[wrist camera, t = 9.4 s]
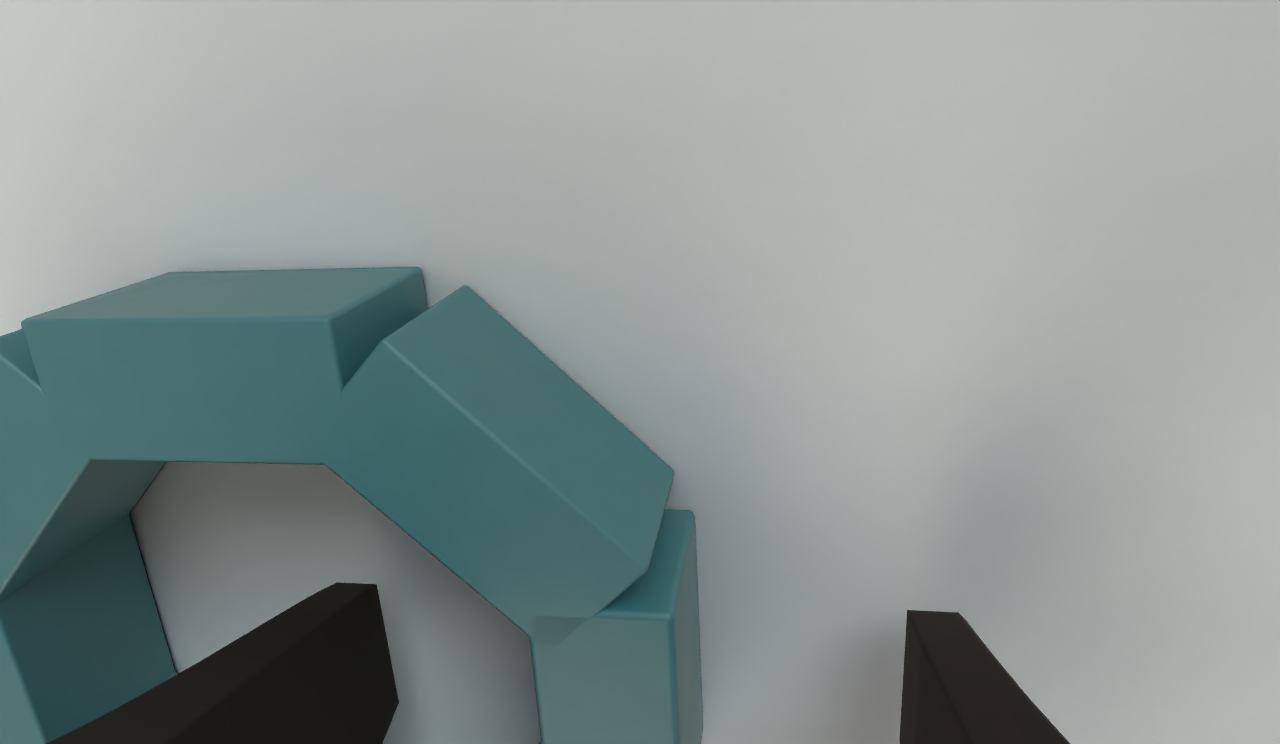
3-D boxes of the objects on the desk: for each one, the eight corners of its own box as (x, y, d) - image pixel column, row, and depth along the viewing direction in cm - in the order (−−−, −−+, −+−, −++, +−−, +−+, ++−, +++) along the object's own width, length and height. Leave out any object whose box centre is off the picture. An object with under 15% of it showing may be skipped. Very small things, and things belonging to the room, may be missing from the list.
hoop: (710, 893, 14) (695, 1054, 11) (144, 831, 15) (35, 961, 13) (685, 260, 10) (657, 313, 8) (-43, 276, 12) (-234, 323, 10)
